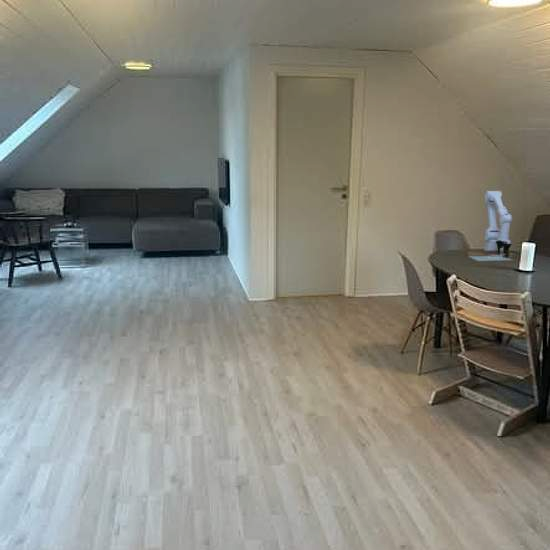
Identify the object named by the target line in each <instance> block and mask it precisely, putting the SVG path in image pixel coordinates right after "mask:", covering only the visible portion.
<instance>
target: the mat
mask: <svg viewBox="0 0 550 550" xmlns="http://www.w3.org/2000/svg"><path fill="white" fill-rule="evenodd" d="M467 257H469V258H471V259H472V260H475V261H478V262H482V261H483V262H488V261H489V262H493V261H513V260H512V259H509V258H507V257H505V258H490V257H488V256H467Z"/></svg>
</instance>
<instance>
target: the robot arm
mask: <svg viewBox="0 0 550 550" xmlns="http://www.w3.org/2000/svg"><path fill="white" fill-rule="evenodd" d="M502 197H503V193H502V190H486V192H485V194H484V201H485V204H486V206H487V218H488V228H487V229H485V235H484V239H485V242H484V248H483V249H484V250H483V251H485V250H498V251H499V252H500V248H503V253H504V254H507V252H509V249H510V247H511V246H512V241H511V240H510V237H509V236H510V228H511V224H512V222H513V216H512V214H510V213H509V212H508V209H507V207H506V206H504V204H503V201H502ZM496 207H497V213H498V216H499V226H500V228H499V227H498V225H497V215H496Z"/></svg>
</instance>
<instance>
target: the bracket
mask: <svg viewBox="0 0 550 550" xmlns="http://www.w3.org/2000/svg"><path fill="white" fill-rule="evenodd" d="M488 257H490V258H505V257H506V254H504V253H503V247H502V248H500V254H488Z"/></svg>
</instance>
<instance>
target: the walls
mask: <svg viewBox="0 0 550 550" xmlns="http://www.w3.org/2000/svg"><path fill="white" fill-rule="evenodd" d="M488 254H500V252H499V251H498V250H485V251H484V250H467V257H468V256H488ZM506 257H507V258H509V259H512V260H511V261H516V258H517V255H516V254H515V253H512V252H509V251H508V252H507V254H506Z"/></svg>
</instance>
